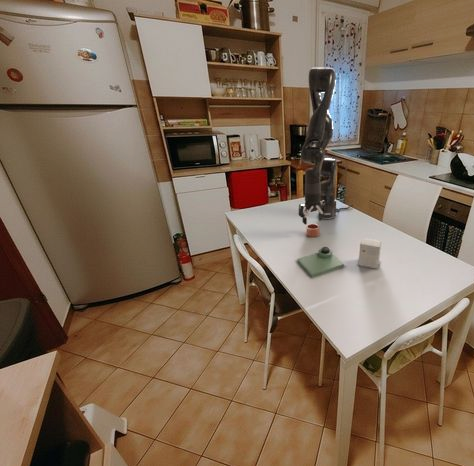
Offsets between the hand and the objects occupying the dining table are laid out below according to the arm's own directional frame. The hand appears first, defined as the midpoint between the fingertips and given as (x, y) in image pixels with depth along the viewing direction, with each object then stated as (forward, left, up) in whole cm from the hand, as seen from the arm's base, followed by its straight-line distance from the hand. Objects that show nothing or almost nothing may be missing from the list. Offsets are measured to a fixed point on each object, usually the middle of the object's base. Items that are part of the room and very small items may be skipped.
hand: (312, 222), depth 131 cm
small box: (-8, +35, -7) cm, 36 cm away
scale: (+10, +25, -7) cm, 28 cm away
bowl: (0, 0, -7) cm, 7 cm away
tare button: (+5, +21, -4) cm, 22 cm away
